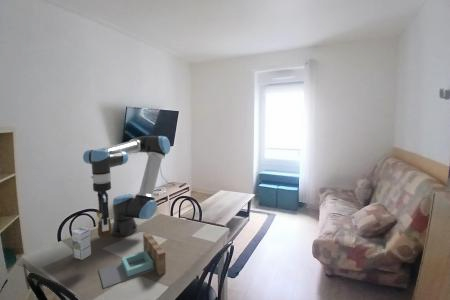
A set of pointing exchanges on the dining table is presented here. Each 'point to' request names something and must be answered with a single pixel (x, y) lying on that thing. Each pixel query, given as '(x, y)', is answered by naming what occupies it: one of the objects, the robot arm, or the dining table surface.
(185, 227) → the dining table surface
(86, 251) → the syrup box
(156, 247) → the backstop wall
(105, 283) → the grey flat plate
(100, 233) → the utensil holder
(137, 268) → the socket frame
